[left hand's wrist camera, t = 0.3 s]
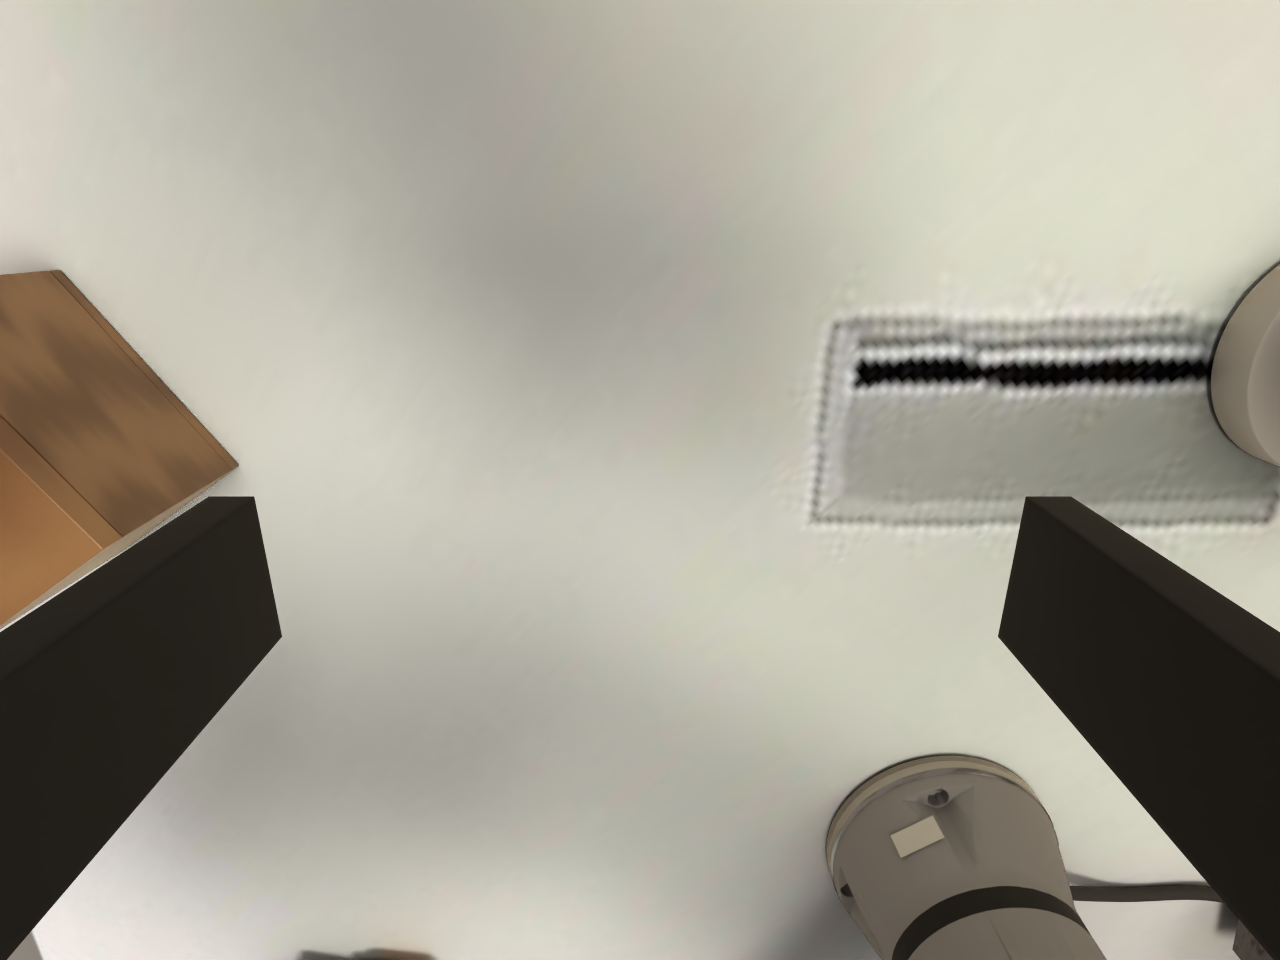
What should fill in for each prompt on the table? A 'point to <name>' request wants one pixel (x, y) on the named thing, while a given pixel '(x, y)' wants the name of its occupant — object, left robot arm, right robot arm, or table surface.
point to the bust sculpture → (1251, 372)
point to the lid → (40, 527)
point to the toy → (1248, 945)
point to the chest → (97, 412)
